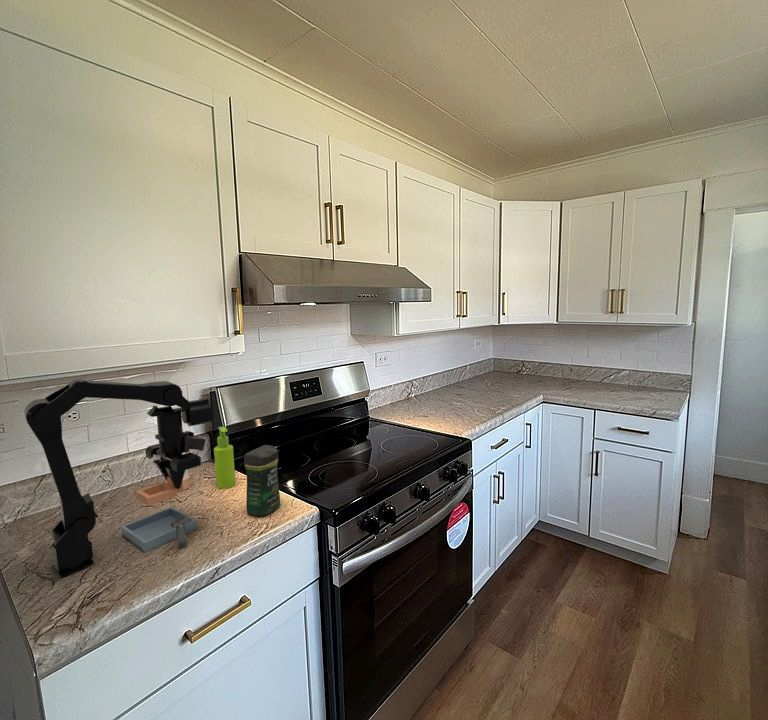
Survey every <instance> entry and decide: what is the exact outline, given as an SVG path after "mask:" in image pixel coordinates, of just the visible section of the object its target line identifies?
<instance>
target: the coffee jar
mask: <svg viewBox="0 0 768 720" xmlns="http://www.w3.org/2000/svg"><path fill="white" fill-rule="evenodd" d="M278 453H279V452H278V449H277V447H276V446H274V445H268V444H264V445H261V446H260V447H258V448H255V449H252V450H251V451H249V452H247V453H245V454H244V460H243V462H244V468H245V473H246V504H245V505H246V506H245V507H246V512H247V514H250V516H254V517H261V516H263V517H264V516H267V515H269V514H271V513H272V512H274V511H276V510H277V509H278V508H279V507H280V505H281V494H280V487H279V486H280V485H279V479H278V478H279V477H278V463H279V454H278Z"/></svg>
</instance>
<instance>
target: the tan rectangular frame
mask: <svg viewBox="0 0 768 720" xmlns="http://www.w3.org/2000/svg"><path fill="white" fill-rule="evenodd" d="M167 483H168V484H167ZM167 483H166V482H165V481H163V482H159V483H156V484H153V485H150V486H147V487H144V488H141V489H138V490H135V495H136V499H137V500H139V501H140V502H142V503H143V505H144V504H145V505H146V506H148V507H150V506H153V505H156V504H159V503H162V502H164V501H168V500H170V499H173V498H175V497H178V493H180V492H183V491H184V490H183V483H182V484H181V487H180V488H179V489H177V488H175V487H174V485H173V483H172V481H171V479H170V476H167Z"/></svg>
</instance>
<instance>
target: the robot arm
mask: <svg viewBox="0 0 768 720" xmlns="http://www.w3.org/2000/svg"><path fill="white" fill-rule="evenodd" d="M85 398H91V399H93V398H95V399H114V400H131V401H133V400H134V401H135V400H136V401H144V402H146V403H147V402H148V403H152V404H155V405H153V406H152V408H151V409H150V410H148V411H147V413H146V414H147V415H148V416H150V417H151V418H154V417H156V423H157V433H156V434H155V437H154V438H155V439H156V440H157V441H158V443H156V444H152V445H148V446H147V448H146V449H144V450H145V458H147V459H153V458H154V456H155V458H156V459H155V460H153V464H154V465H155V466H156V467H157V469H158V470H159V472H160V473H161V475H162V476H163V478H164V479H165V480H166V481H167V476H170V479H171V481H172V483H173V485H174V487H175V488H177V489H179V488H180V487H181V484H182V480H183V476H184V473H185V470H187V469H188V470H190V469H194V468H196V467H200V466H201V465H202V457H201V456H200V455H198V454H195V453H193V452H192V451H190V450H196V451H200V452H202V451H204V449H205V444H206V441H207V440H206V438H203V437H201V436H197V435H195V433H194V432H193V431H189V430H185V431H184V430H183V429H184V428H183V424H186V425H187V426H188V427H194V426H198V425H199V426H200V425H204V424H208V423H212V422H213V420H214V411H213V409H212V406H211V404H210V400H209V399H208V398H206V397H204V398H200V399H194V400H190V401H189V400H188V399H186V397H185V396H184V395H183V390H182V388H181V387H180V386H179V385H178V384H175V383H172V382H170V381H167V380H162V381H151V382H145V383H130V382H129V383H128V382H117V381H116V382H115V381H103V380H101V381H100V380H89V379H88V380H87V379H82V378H75V379H73V380H72V381H70V382H69V383H68V384H67V385H65V386H64V387H61V388H60V389H57V390H55V391H54V392H52V393H50V394H49V395H47V396H46V397H44V398H37V399H35V400H32V401H31V402H29V403H28V404H27V405H26V406H25V408H24V417H25V420H26V423H27V425H28V426H29V428H30V430H31V431H32V432H33V434H34V436H35V437H36V438H37V440H38V441H39V443H40V445H41V447H42V449H43V451H44V455H45V457H46V460H47V463H48V466H49V469H50V472H51V474H52V477H53V481H54V483H55V487H56V489H57V492H58V494H59V502H60V503H59V505H60V507H59V508H60V517H61V519H60V520H59V521H58V522H57V524H56V525H55V526H54V527H53V529H51V530H50V531H51V535H52V538H53V541H54V542H53V543H52V544H51V550H52V551H51V552H52V559H53V564H52V565H51V569H52V570H53V571H54V572H55V573H56V574H57V576H59V578H65V577H66V576H68V575H70V574H74V573H75V572H78V571H81V570H82V569H85V568H87V567H89V566H92V565H94V563H95V561H94V560H93V558H94V551H93V543H92V541H91V540H90V539H89V536H88V535H89V533H91V531H92V530H93V529H94V528H95V526H96V523H97V522H96V518H98V517H99V514H98V513H97V511H96V509H95V507H94V500H93V498H92V496H91V495H90V493H89V492H87V493H86V494H84V495H82V493H81V492H80V489H79V484H78V483H77V480H76V477H75V473H74V471H73V468H72V465H71V462H70V458H69V456H68V452H67V450H66V447H65V443H64V441H63V426H62V425H63V423H62V416H63V415H65V414H66V413H68V412H69V411H70V410H71V409H73V408H74V406H76V405H77V404H79V402H80V401H82V400H84V399H85ZM157 405H161V406H163V407H159V406H157ZM174 406H177V408H173V407H174ZM184 452H185V454H183V453H184ZM182 454H183V455H182Z"/></svg>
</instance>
